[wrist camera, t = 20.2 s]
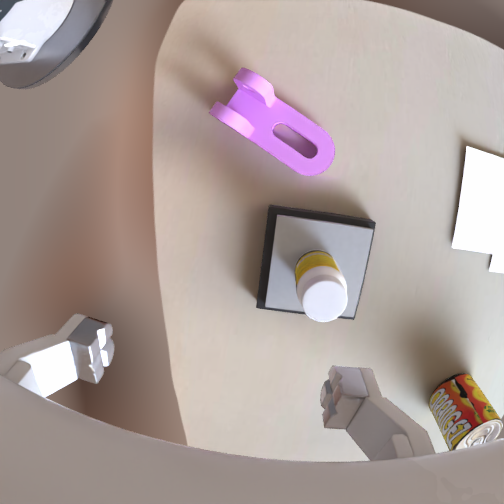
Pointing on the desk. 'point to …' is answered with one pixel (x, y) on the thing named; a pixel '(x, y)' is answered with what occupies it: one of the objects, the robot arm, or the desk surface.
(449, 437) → the beverage can
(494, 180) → the paper
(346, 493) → the robot arm
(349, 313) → the scale
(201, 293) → the desk surface
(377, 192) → the desk surface
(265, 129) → the bracket
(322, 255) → the supplement bottle
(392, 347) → the desk surface
